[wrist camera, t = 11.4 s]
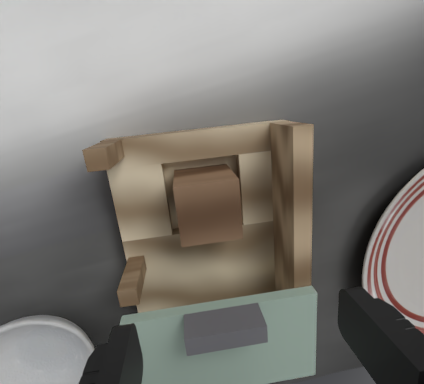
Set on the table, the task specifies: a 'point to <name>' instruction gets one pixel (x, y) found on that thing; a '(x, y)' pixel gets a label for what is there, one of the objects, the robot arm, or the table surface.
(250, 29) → the table surface
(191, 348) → the sliding cover
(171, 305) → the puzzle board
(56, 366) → the spoon rest
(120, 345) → the robot arm
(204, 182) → the walnut block
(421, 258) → the dinner plate
